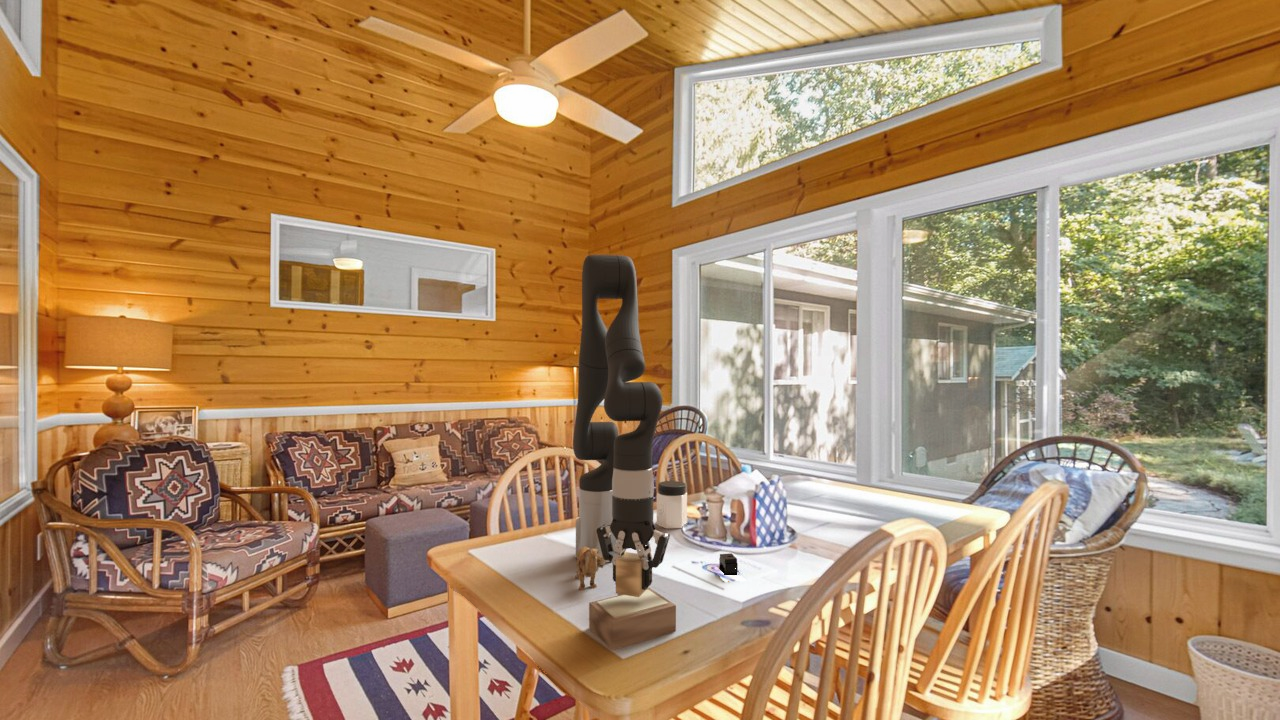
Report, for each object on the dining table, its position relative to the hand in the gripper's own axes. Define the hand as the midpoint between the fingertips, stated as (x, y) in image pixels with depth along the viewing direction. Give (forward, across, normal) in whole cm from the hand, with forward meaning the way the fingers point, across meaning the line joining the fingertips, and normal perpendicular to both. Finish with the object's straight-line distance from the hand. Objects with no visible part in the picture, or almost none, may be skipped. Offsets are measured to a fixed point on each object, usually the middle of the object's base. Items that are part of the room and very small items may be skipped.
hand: (632, 585), depth 106 cm
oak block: (+1, 0, 0) cm, 1 cm away
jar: (+8, -14, +64) cm, 66 cm away
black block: (+9, +10, +33) cm, 36 cm away
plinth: (+8, 0, 0) cm, 8 cm away
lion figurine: (+8, -17, +16) cm, 25 cm away
